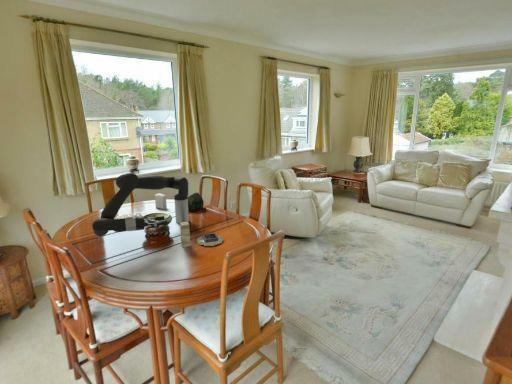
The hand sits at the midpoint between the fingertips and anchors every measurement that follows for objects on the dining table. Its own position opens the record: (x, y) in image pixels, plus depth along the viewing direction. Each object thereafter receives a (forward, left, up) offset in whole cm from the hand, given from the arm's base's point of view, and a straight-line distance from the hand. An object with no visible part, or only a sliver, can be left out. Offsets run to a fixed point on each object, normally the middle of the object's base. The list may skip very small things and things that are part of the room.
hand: (165, 220), depth 165 cm
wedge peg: (0, +11, -18) cm, 21 cm away
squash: (-67, +32, -18) cm, 77 cm away
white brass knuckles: (-63, -18, -18) cm, 68 cm away
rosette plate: (0, +26, -18) cm, 31 cm away
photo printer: (-82, +7, -18) cm, 85 cm away
